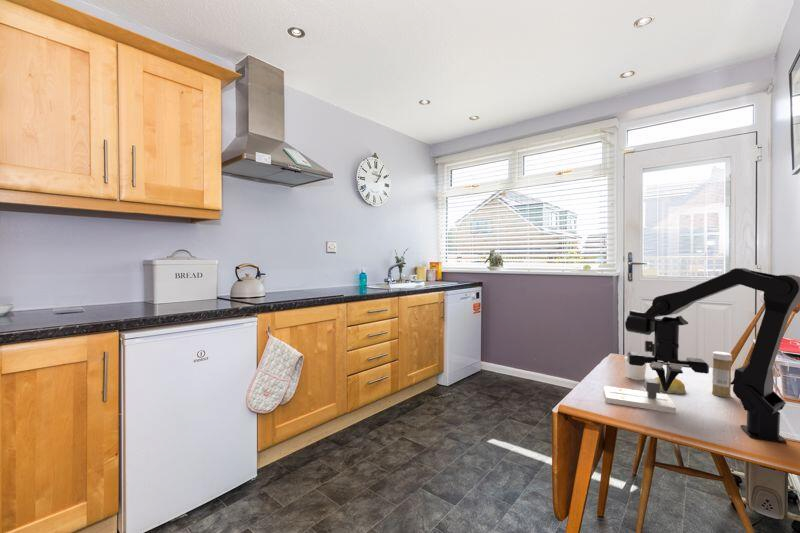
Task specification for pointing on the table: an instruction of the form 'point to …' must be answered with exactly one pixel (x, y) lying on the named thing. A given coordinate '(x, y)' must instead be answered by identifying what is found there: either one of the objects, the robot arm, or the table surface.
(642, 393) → the fader panel
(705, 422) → the table surface
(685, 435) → the table surface
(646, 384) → the fader knob
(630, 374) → the white cup
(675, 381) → the bread roll
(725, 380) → the sprinkles bottle
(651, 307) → the robot arm
